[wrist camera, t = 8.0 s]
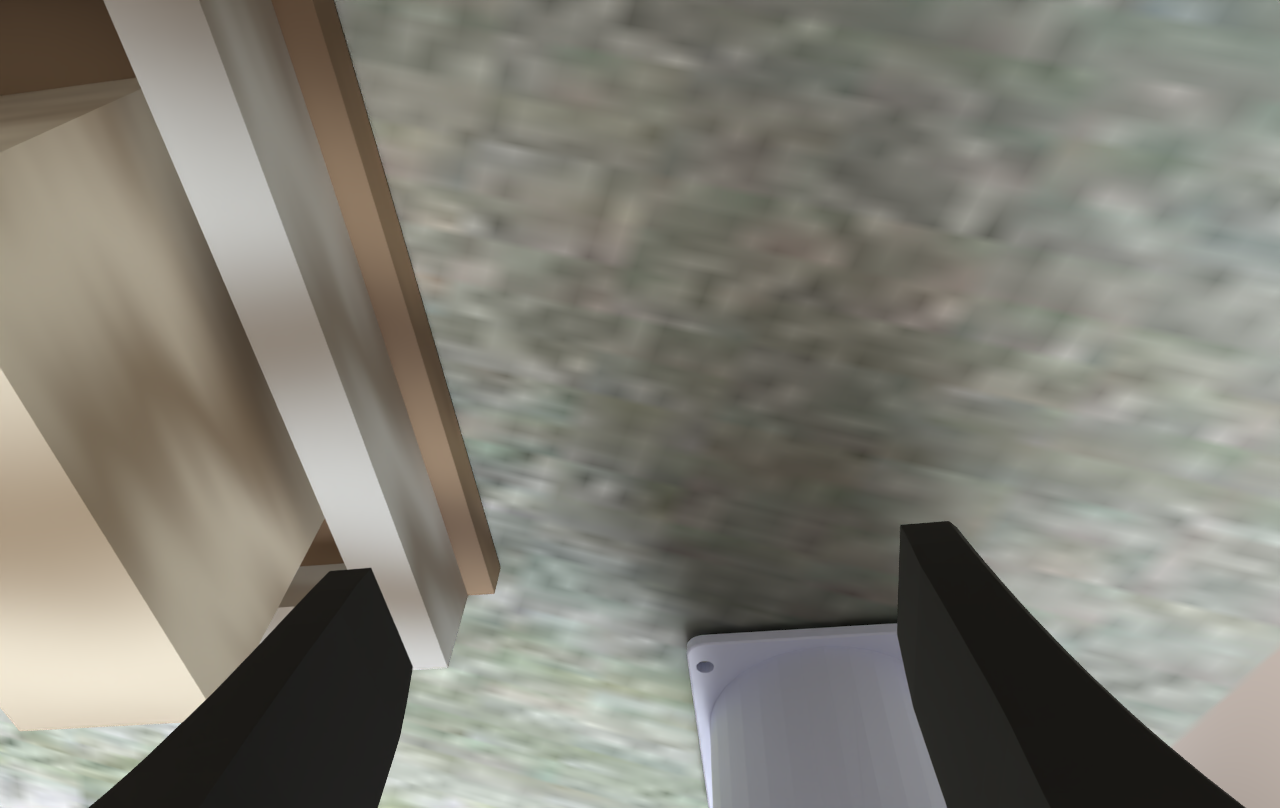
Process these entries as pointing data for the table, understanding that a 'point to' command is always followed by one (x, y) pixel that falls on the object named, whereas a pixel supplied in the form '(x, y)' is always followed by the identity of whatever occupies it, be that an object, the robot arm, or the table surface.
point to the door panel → (127, 430)
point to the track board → (300, 273)
